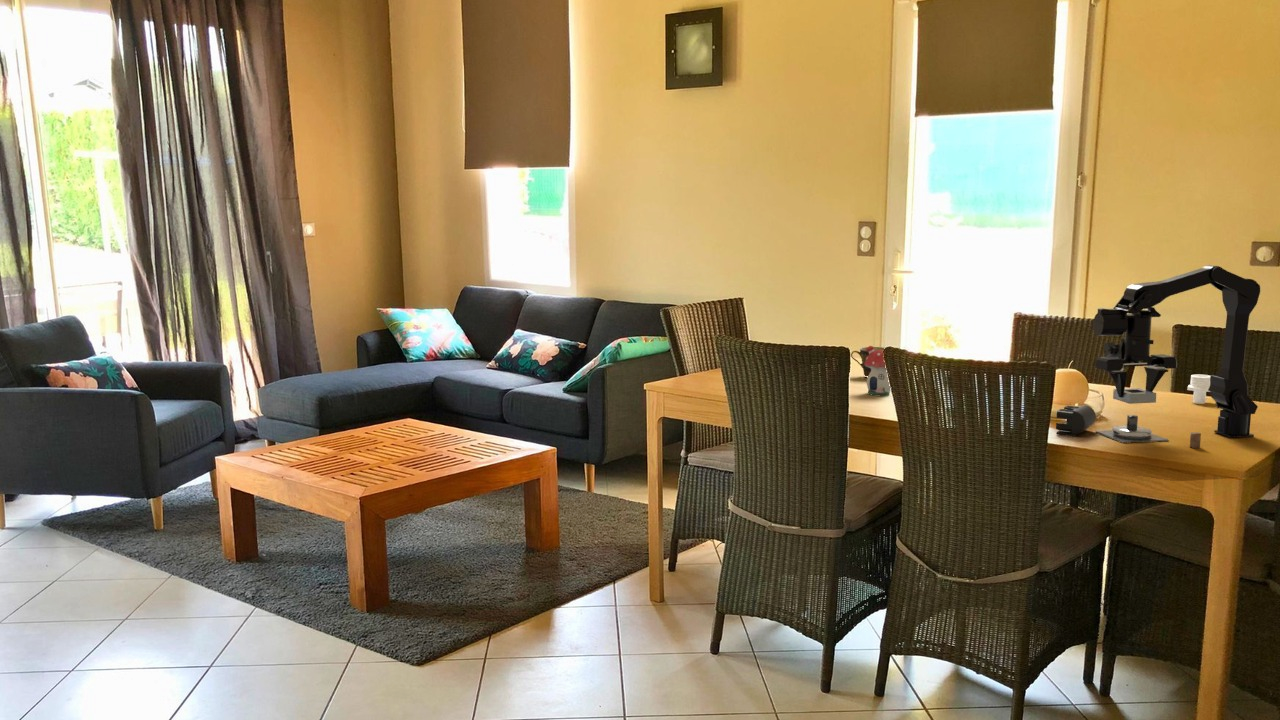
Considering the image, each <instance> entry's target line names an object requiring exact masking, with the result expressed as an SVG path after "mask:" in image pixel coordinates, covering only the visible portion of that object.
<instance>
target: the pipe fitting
mask: <svg viewBox="0 0 1280 720" xmlns="http://www.w3.org/2000/svg"><path fill="white" fill-rule="evenodd" d="M1210 377H1211V375H1208V374H1198V373H1197V374H1191V375H1190V384H1188V386H1187V391H1192V392H1193V397H1192V402H1193V403H1194V404H1196V405H1197V404H1198V405H1199V404H1200V405H1204V404H1206V400H1207V398H1206V397H1207V392H1208V393H1211V391H1208V389H1209V387H1210Z"/></svg>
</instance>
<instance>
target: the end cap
mask: <svg viewBox="0 0 1280 720" xmlns="http://www.w3.org/2000/svg"><path fill="white" fill-rule="evenodd" d="M1096 418H1097V415H1096V412H1095V410H1094V409H1093V408H1092V407H1091V406H1090V405H1087V404H1083V405H1081V406H1076V405H1065V406H1064V407H1063V408H1060V409H1058V410H1057V411H1056V419H1063V420H1066V421H1065V422H1056V423H1055V429H1056V430H1057V431H1056V435H1058V434H1059V435H1060V436H1066V435H1067V437H1076V436H1077V435H1079V434H1081V433H1083V432H1084V431H1086V430H1088V429H1089V428H1090V427H1091V426H1093V425H1094V423H1095V422H1096Z"/></svg>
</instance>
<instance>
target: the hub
mask: <svg viewBox="0 0 1280 720" xmlns="http://www.w3.org/2000/svg"><path fill="white" fill-rule="evenodd" d="M1138 420H1139V416H1138V415H1135V414H1128V415H1127V416H1126V425H1116V426H1113V427H1112V428H1111V429H1110V430H1095V433H1096V434H1098V435H1101V436H1103V437H1106V438H1108V439H1110V440H1113V439H1114V440H1113V441H1116V440H1117V442H1119V441H1120V442H1119V443H1121V442H1123V443H1122V444H1130V443H1129V442H1141V443H1151V442H1150V441H1162V442H1169V441H1170V440H1169V439H1168V438H1165V437H1163V436H1160V435H1156V434H1154V433H1153V432H1152V431H1153V430H1151V429H1150V428H1147V427H1143V426H1138ZM1127 442H1128V443H1127Z"/></svg>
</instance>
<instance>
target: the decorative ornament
mask: <svg viewBox="0 0 1280 720" xmlns="http://www.w3.org/2000/svg"><path fill="white" fill-rule="evenodd" d="M866 347H867V348H866V351H867V352H869V356H868V357H867V358H866V360H865V366H866V367H869V368H871V372H870V374H869V376H868V378H867V379H866V386H867V389H868V391H867V394H868V393H869V394H868V395H870V394H872V395H871V396H874V395H888V396H890V393H891V390H890V386H889V382H888V377H887V372H888V371H887V372H886V368H885V362H884V357H883V350H876V351H874V347H875V346H872V345H869V346H866Z"/></svg>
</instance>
